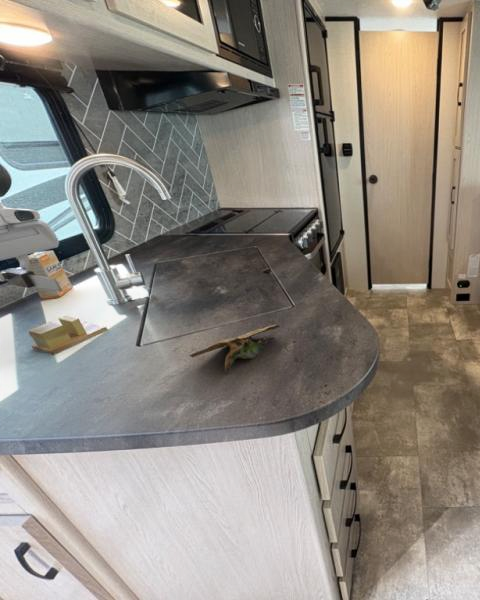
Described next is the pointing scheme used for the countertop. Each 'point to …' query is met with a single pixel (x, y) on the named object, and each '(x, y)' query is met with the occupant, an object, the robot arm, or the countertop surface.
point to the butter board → (74, 338)
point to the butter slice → (72, 325)
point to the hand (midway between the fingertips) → (15, 277)
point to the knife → (31, 279)
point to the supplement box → (49, 273)
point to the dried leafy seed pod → (239, 347)
